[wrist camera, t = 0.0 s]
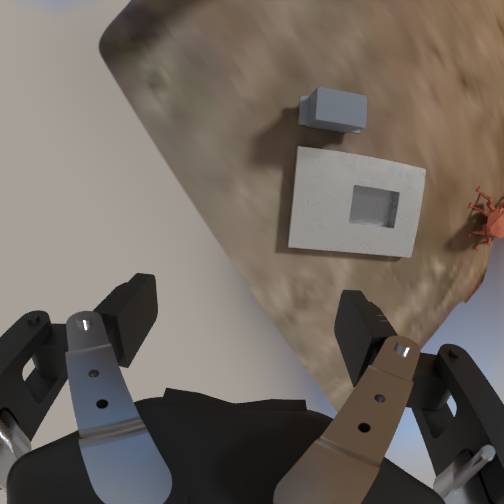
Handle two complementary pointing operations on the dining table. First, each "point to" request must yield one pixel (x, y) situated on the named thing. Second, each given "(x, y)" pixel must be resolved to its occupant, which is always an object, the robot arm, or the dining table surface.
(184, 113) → the dining table surface
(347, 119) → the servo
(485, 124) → the dining table surface
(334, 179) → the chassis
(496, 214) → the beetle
